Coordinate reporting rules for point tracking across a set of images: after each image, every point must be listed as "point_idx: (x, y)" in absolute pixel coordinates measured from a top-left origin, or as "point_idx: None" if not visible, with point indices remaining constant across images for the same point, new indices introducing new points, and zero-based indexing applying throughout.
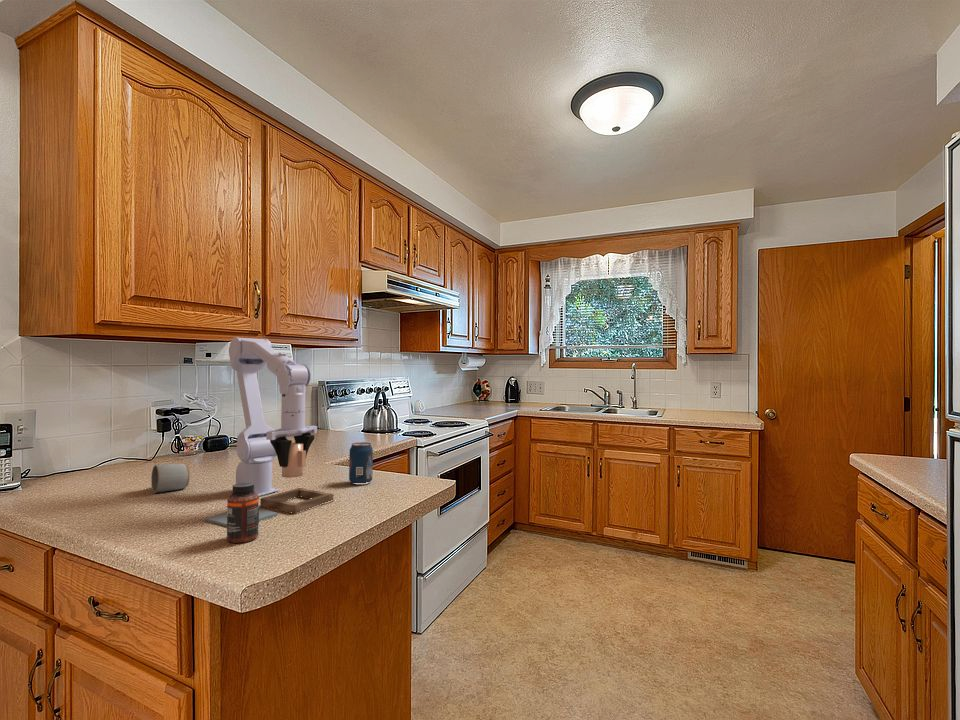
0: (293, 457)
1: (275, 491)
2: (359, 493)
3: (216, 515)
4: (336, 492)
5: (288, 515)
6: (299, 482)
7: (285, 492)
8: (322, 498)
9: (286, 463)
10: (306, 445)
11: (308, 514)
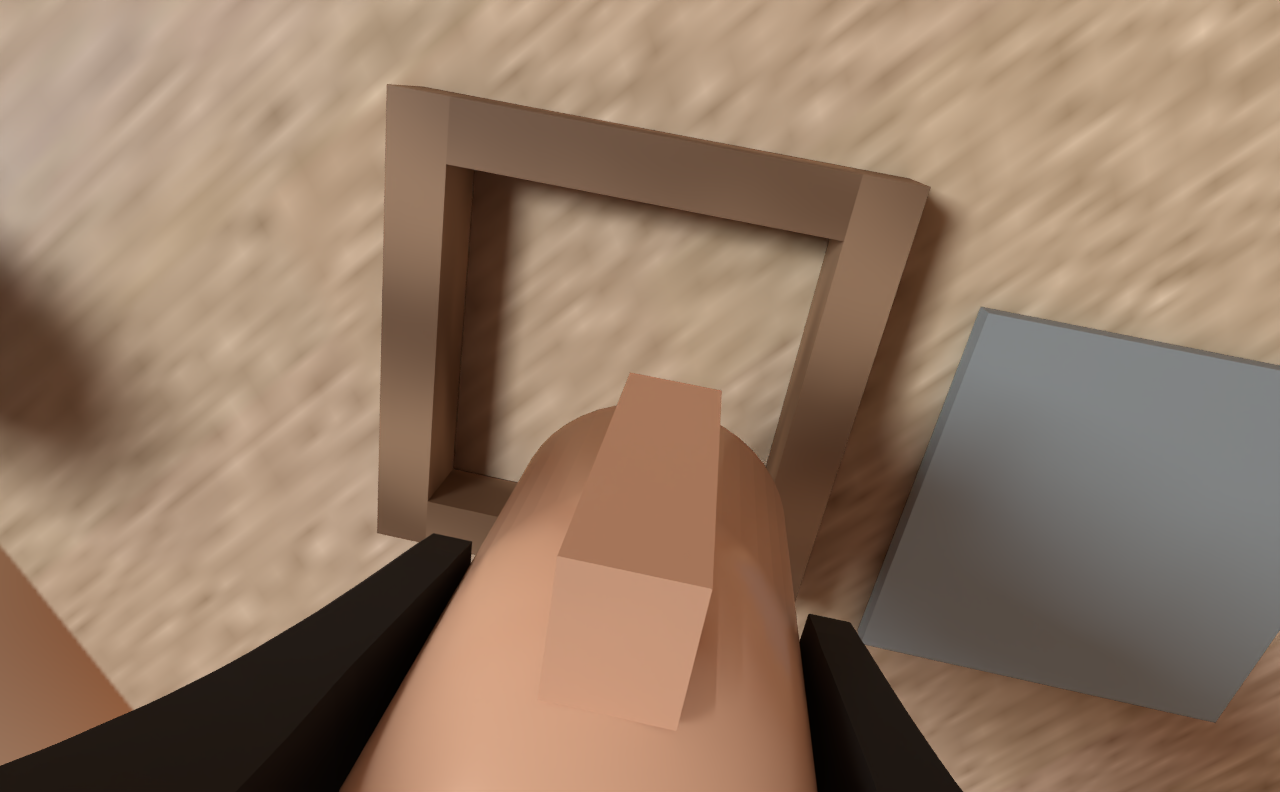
0: (763, 661)
1: None
2: (68, 3)
3: (1136, 693)
4: (181, 256)
5: (956, 216)
6: (158, 682)
7: None
8: (551, 115)
9: (861, 654)
10: (244, 776)
11: (883, 42)
